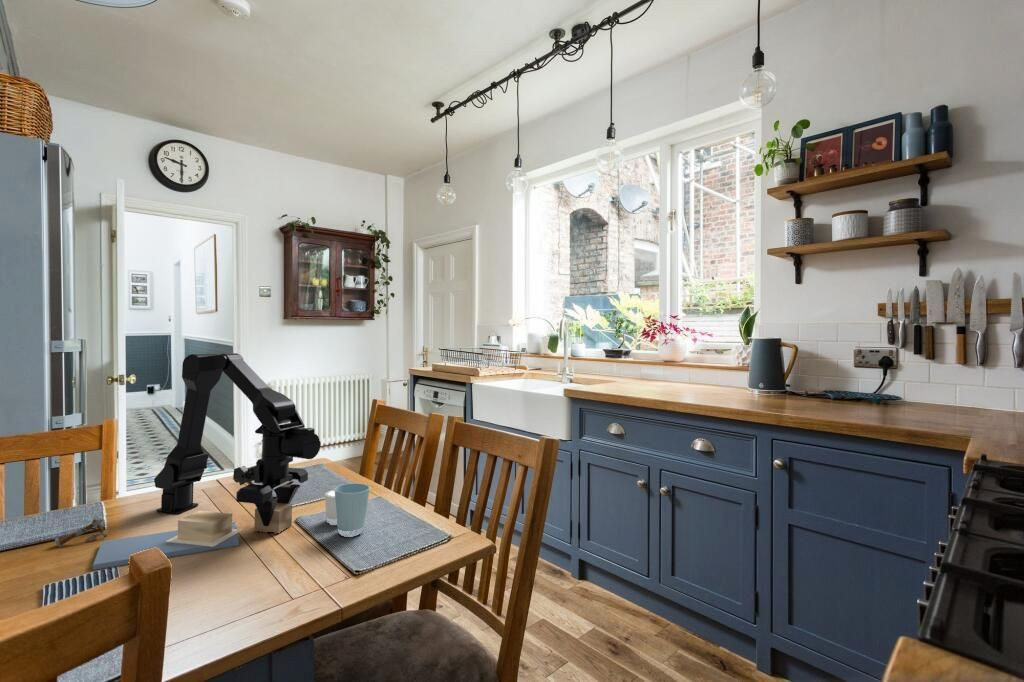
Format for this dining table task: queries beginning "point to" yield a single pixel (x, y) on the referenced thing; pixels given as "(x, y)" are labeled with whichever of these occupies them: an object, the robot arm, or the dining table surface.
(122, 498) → the dining table surface
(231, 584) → the dining table surface
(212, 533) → the beech block
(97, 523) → the wooden post with brackets
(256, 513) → the walnut block
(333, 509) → the shot glass
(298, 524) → the dining table surface
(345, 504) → the cup
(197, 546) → the board
